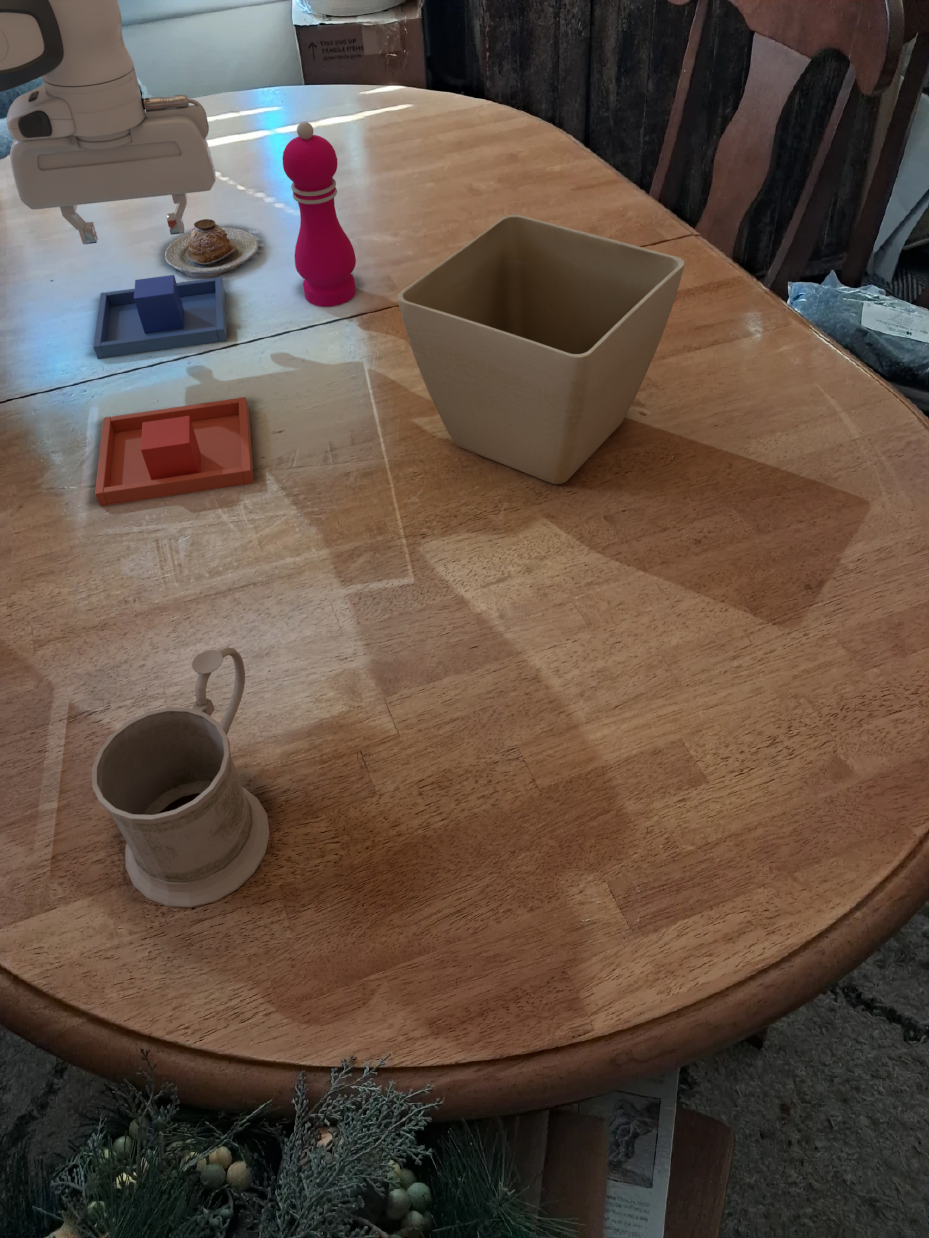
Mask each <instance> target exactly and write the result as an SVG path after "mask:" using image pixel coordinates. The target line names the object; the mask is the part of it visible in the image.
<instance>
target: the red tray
mask: <svg viewBox="0 0 929 1238" xmlns="http://www.w3.org/2000/svg"><path fill="white" fill-rule="evenodd" d="M247 399H248V398H247V396H241V397H237V398H228V399H222V400H217V401H216V400H215V401H209V402H202V403H195V404H188V405H181V406H174V407H168V408H167V407H166V408H160V409H153V410H146V411H140V412H134V413H126V414H119V415H112V416H106V417H105V416H104V417H102V424H101V425H102V427H101V435H100V444H99V453H98V462H97V471H96V480H95V490H94V496H95V498H96V500H97V502H98V503H97V504H98V505H99V507H106V506H111V505H118V504H126V503H132V502H138V501H145V500H151V499H152V500H153V499H158V498H165V497H172V496H177V495H183V494H192V493H197V492H203V491H210V490H217V489H224V488H229V487H237V486H242V485H243V486H244V485H249V484H254V482H255V479H254V466H253V465H254V464H253V450H252V433H251V420H250V407H249V404H248V400H247ZM184 416H190V419H191V423H192V426H193V429H194V433H195V436H196V439H197V443H198V446H199V449H200V453H201V473H196V474H190V475H183V476H177V477H170V478H164V479H157V480H151V478H150V475H149V472H148V469H147V466H146V463H145V461H144V458H143V455H142V452H141V439H142V423H143V422H150V421H157V420H164V419H170V418H177V417H184Z"/></svg>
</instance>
